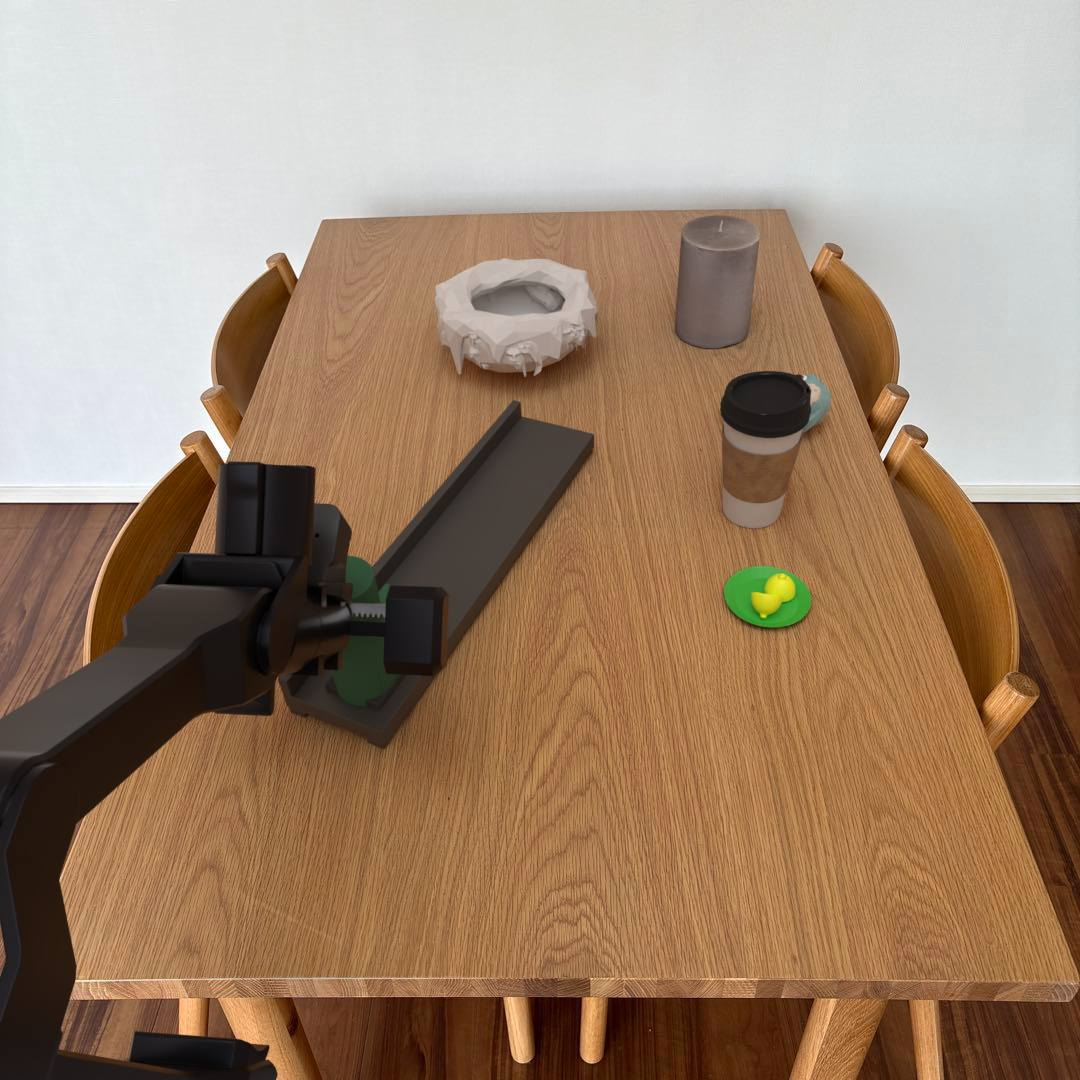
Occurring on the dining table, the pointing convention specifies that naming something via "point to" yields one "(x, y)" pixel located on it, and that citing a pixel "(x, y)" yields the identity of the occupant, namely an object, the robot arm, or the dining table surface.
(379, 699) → the green cylinder on block
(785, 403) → the coffee cup
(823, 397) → the stuffed animal
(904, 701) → the dining table surface
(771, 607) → the green flat round tray
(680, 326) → the pillar candle
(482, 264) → the bowl
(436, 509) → the shoe shelf
